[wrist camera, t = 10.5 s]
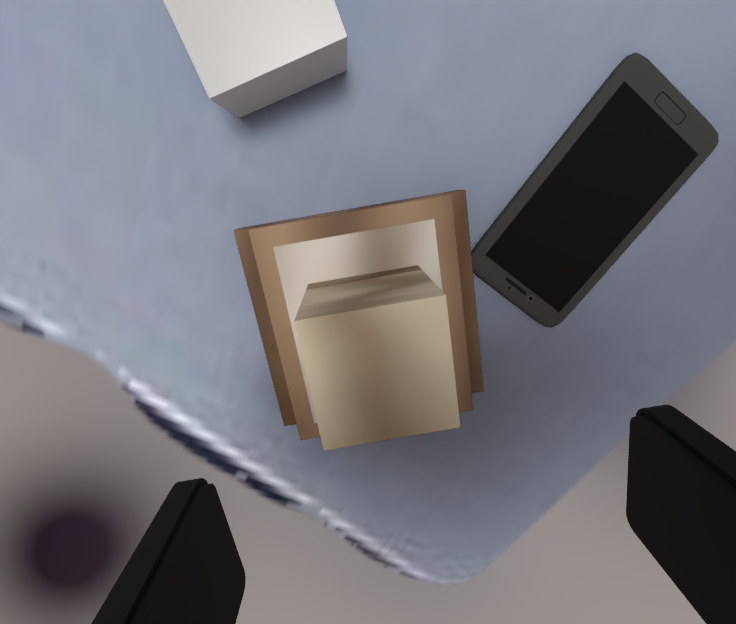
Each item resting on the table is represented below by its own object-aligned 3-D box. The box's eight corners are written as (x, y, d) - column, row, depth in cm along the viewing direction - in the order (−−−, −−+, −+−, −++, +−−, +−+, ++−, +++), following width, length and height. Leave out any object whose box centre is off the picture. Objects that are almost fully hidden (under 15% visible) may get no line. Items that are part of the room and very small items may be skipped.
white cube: (296, -64, 19) (280, -148, 14) (346, 71, 21) (347, 36, 16) (181, -10, 19) (128, -74, 15) (240, 118, 21) (209, 98, 16)
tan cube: (417, 265, 21) (445, 295, 15) (430, 365, 22) (460, 427, 16) (308, 283, 21) (294, 321, 15) (329, 383, 22) (323, 451, 16)
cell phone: (715, 138, 23) (726, 137, 22) (547, 329, 26) (553, 333, 25) (627, 49, 21) (636, 44, 21) (459, 262, 24) (462, 264, 24)
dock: (459, 189, 23) (476, 190, 20) (477, 382, 26) (494, 407, 23) (239, 228, 23) (222, 234, 20) (287, 415, 26) (279, 445, 23)
